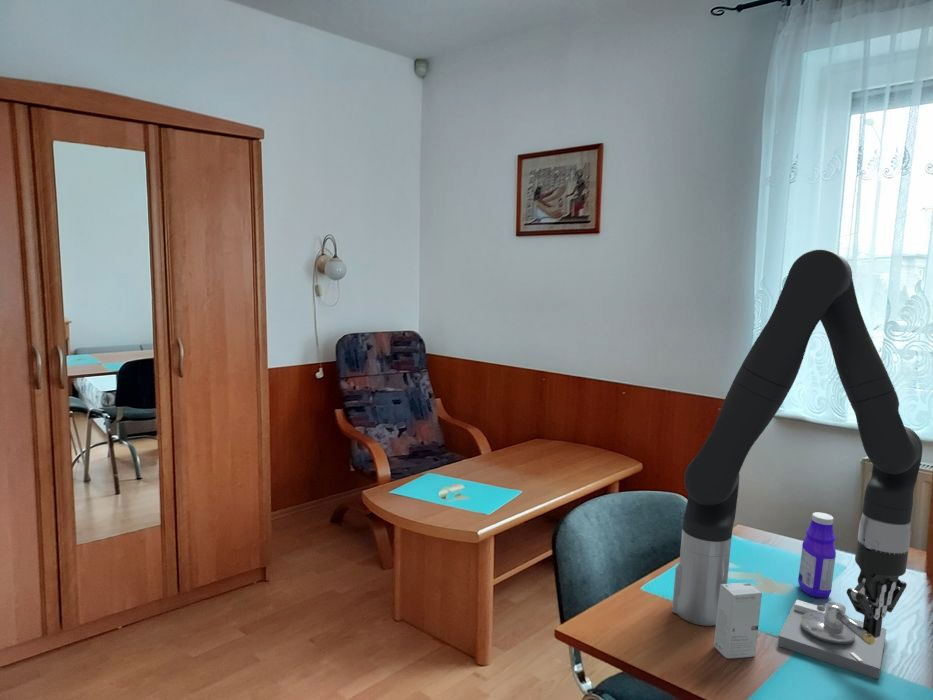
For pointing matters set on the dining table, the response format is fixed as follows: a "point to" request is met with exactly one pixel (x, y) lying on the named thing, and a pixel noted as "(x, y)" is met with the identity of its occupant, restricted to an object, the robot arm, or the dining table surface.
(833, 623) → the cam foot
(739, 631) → the skincare box
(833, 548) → the bottle
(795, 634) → the switch base
